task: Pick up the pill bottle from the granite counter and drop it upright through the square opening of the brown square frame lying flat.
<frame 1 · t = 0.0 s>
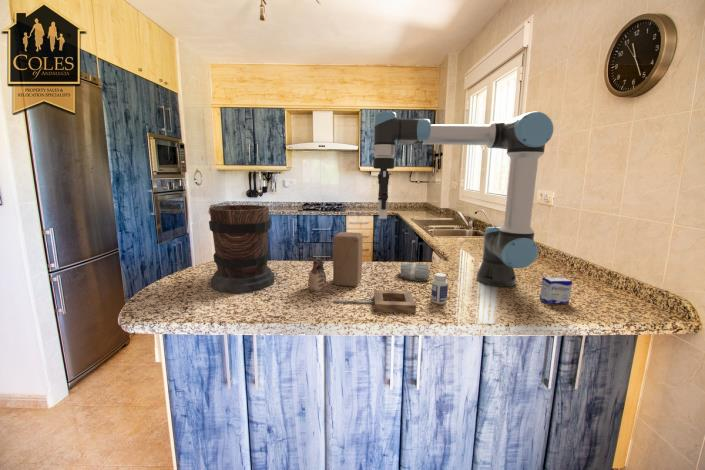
hand: (382, 216, 121), 28 cm above the counter, fingers open, 13 cm apart
brown square frame: (393, 304, 110), on the counter
wooden barrel: (244, 280, 133), on the counter
decorative stone: (413, 277, 141), on the counter
wooden block: (347, 283, 132), on the counter
box: (553, 302, 115), on the counter
pill bottle: (438, 301, 114), on the counter
figurine: (317, 289, 124), on the counter
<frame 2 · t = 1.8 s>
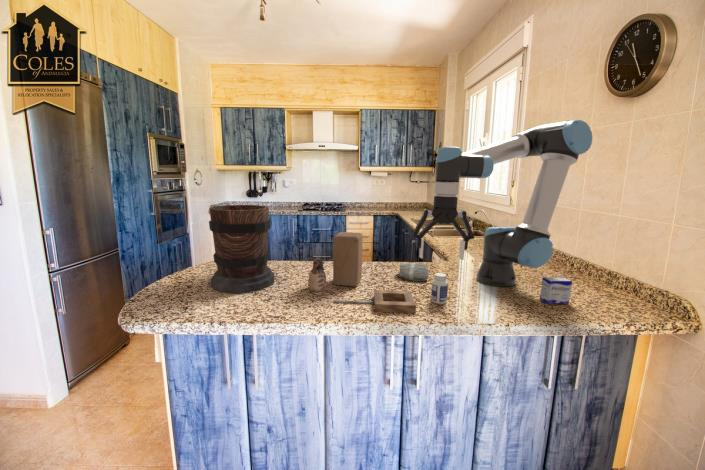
hand: (440, 258, 111), 16 cm above the counter, fingers open, 13 cm apart
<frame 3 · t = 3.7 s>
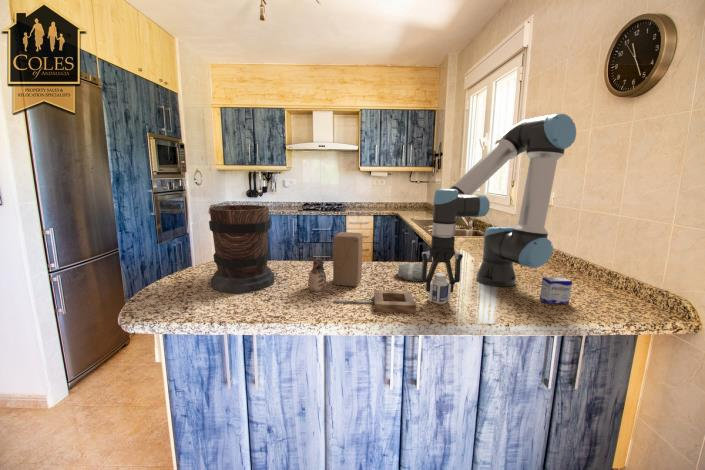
hand: (438, 300, 114), 0 cm above the counter, fingers closed on pill bottle, 5 cm apart
pill bottle: (438, 301, 114), on the counter, touching gripper
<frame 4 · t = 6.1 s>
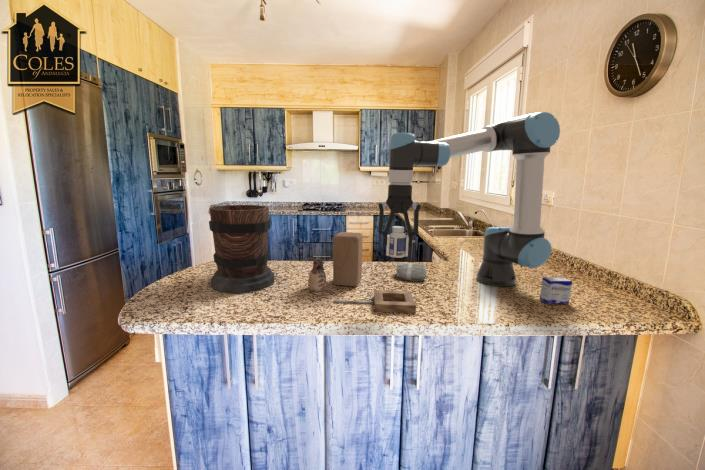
hand: (396, 255, 107), 17 cm above the counter, fingers closed on pill bottle, 5 cm apart
pill bottle: (396, 256, 107), point 17 cm above the counter, touching gripper
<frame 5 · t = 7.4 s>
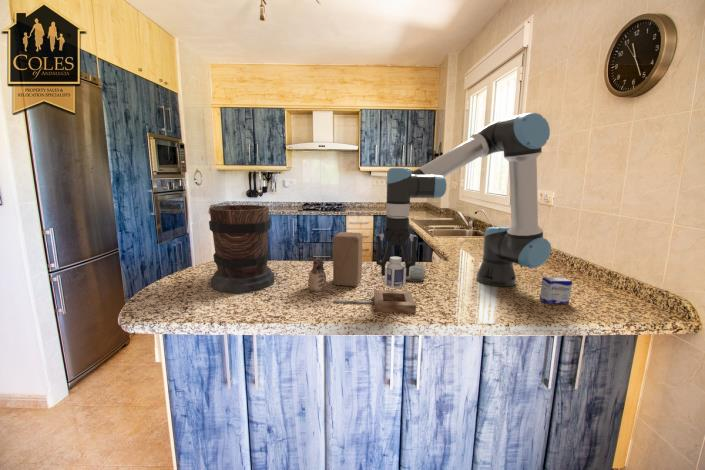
hand: (394, 285, 109), 7 cm above the counter, fingers closed on pill bottle, 5 cm apart
pill bottle: (394, 286, 109), point 6 cm above the counter, touching gripper
when the fingers open (3 cm above the counter, at t = 8.4 s): pill bottle drops 3 cm, resting in brown square frame.
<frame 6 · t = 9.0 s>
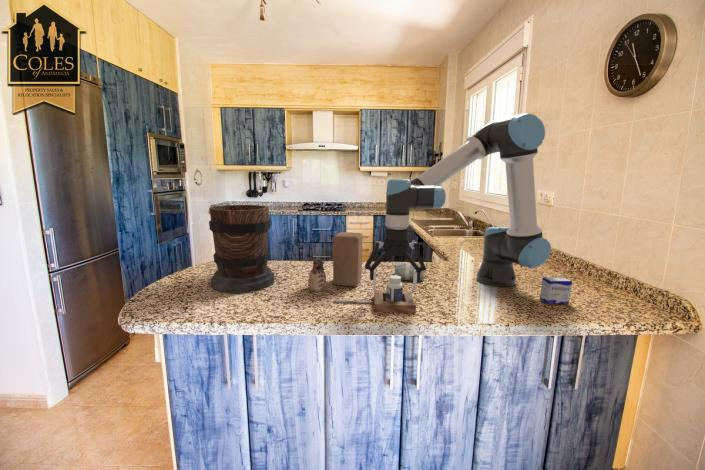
hand: (394, 289, 110), 5 cm above the counter, fingers open, 13 cm apart
pill bottle: (393, 304, 110), resting in brown square frame
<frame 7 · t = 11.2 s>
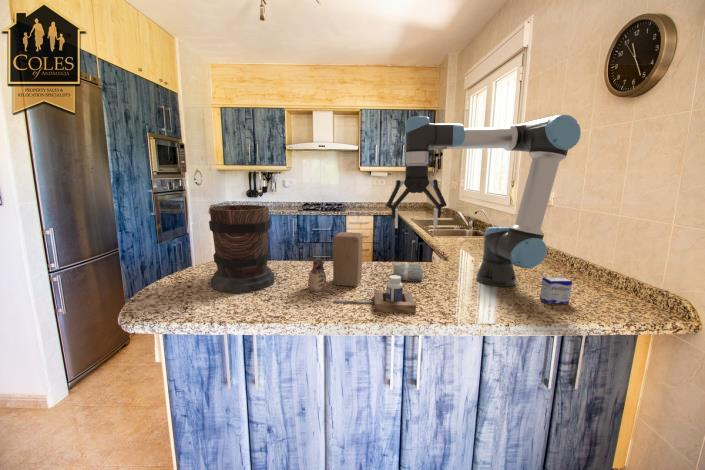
hand: (415, 227, 114), 25 cm above the counter, fingers open, 13 cm apart
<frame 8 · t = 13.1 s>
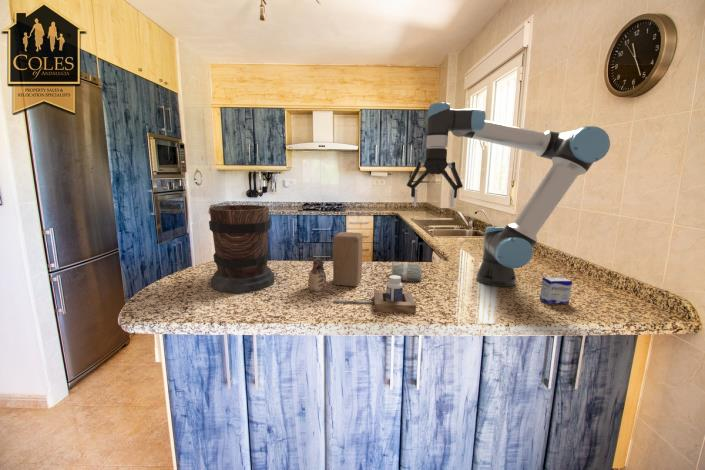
hand: (433, 206, 123), 32 cm above the counter, fingers open, 13 cm apart
at the end: pill bottle 0.1 cm from the brown square frame (horizontally); pill bottle tilted 0°; the gripper is holding nothing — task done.
